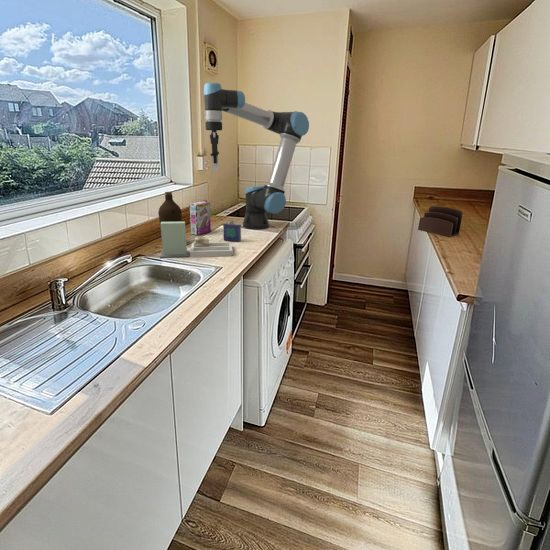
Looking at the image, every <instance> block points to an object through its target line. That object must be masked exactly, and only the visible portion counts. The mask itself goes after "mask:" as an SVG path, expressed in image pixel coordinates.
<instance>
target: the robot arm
mask: <svg viewBox="0 0 550 550" xmlns="http://www.w3.org/2000/svg"><path fill="white" fill-rule="evenodd" d="M203 97H204V113H203V116H205V118H204V120H205V130H206V131H211V133H210V134H209V139H210V144H211V153H210V156H211V161H212V162H211V165H212V168H211V169H212V172H219V171H220V170H219V155H220V151H218V150H219V149H218V145H219V139H220V138H219V134H218V132H217V131H222V130H223V122H222V121H223V112H225V113H227V114H230V115H233V116H236V117H238V118H241V119H243V120H246V121H249V122H252V123H255V124H258V125H259V126H262V127H263V129H264V130H268V131H271V132H273V133H275V134H278V135H279V137H280V142H279V145H278V148H277V152H276V155H275V158H274V162H273V164H272V169H271V172H270V175H269V179H268V182H267V183H265V184H264V185H259V186H258V185H257V186H247V187H246V188H245V193H244V195H245V215H244V218H243V220H242V221H243V222H242V227H243V228H244V229H247V230H248V229H249V230H263V229H264V230H265V229H267V228H269V225H270V223H269V222H270V221H269V218H268V216H267V213H268V214H274V215H277V214H279V213H280V212H282V211H283V210H284V208H285V207H286V203H287V198H286V196H285V193H286V190H285V189H284V186H285V183H286V180H287V179H286V178H288V177H287V176H288V173H289V169H290V167H291V163H292V159H293V156H294V153H295V151H296V147H297V145H298V144H299V143H300V142H301V140H302V137H304V136H305V135H306V134H307V133H308V132H309V129H310V121H309V118H308V116H307V115H306V113H304V112H302V111H297V110H296V111H282V112H280V111H273V110H270V109H269V110H265V109H263V108H260V107H257V106H255V105H252V104H250V103H248V102H246V96H245V93H244V92H243V91H242V90H237V89H235V90H234V89H223V88H222V85H221V84H220V83H218V82H206V83H205V84H204V85H203Z"/></svg>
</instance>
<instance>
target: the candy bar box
mask: <svg viewBox="0 0 550 550" xmlns="http://www.w3.org/2000/svg"><path fill="white" fill-rule="evenodd" d="M189 221H190V235H192V236H201V235H203V234H208V233H210V232H211V231H212V230H211V202H210V201H198V202H193V203H189Z"/></svg>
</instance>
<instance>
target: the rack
mask: <svg viewBox="0 0 550 550" xmlns="http://www.w3.org/2000/svg"><path fill="white" fill-rule="evenodd" d="M195 245H196V244H195V242H192V243H191V245H190V250H189V251H190V253H189V256H190V258H198V257H201V258H202V257H205V258H206V257H233V246H232V242H229V241H223V242H222V241H220V242H219V241H216V242H215V241H212V242H210V241H209V247H195Z"/></svg>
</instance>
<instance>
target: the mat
mask: <svg viewBox="0 0 550 550" xmlns="http://www.w3.org/2000/svg"><path fill="white" fill-rule="evenodd" d="M189 256H190V250H187V254H178V255H163V250H162V252H161V254H160V256H159V258H160V259H175V258H177V259H178V258H189Z"/></svg>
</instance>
